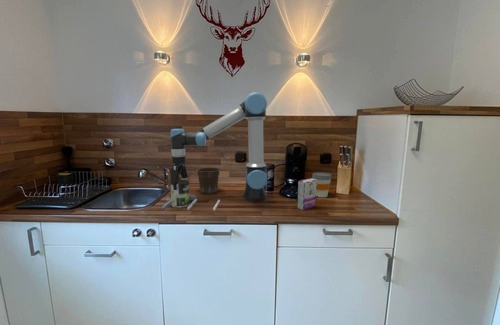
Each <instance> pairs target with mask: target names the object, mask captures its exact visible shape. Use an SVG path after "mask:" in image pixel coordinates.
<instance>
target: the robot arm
mask: <svg viewBox="0 0 500 325" xmlns="http://www.w3.org/2000/svg"><path fill="white" fill-rule="evenodd" d="M267 105H268V102H267V98H266V97H265V95H263V94H262V93H260V92H257V91H256V92H251V93H249V94H248V95H247V96H246V98H245V100H244V101H243V102H241V103H240V104H238V106H237V108H234V109H232V111H229V112H228V113H227V114H225V115H223V116H221V117H219V118H218V119H216V120H214V121H212V122H211V123H210V124H208V125H205V126H204V127H203V128H201V129H199V130H197V131H195V132H194V131H191V132H187V131H185V129H184V128H172V129H170V148H171V150H170V152H171V163H172V164H174V165H173V166H172V173H171V179H170V180H171V181H170V182H171V183H170V185H171V184H173V194H174V195H177V196H178V195H179V189H178V184H177V183H178V180H187V179H188V177H189V176H188V172H187V168H186V147H187V146H194V147H196V146H199V147H201V146H206V144H207V141H208V140H210V139H212V138H213V137H214V136H217V135H219V134H220V133H221V132H224V131H225V130H228V128H230V127H232V126H234V125H236V124H237V123H239V122H240V121H243V120H244V119H246V121H247V131H248V132H247V133H248V135H247V136H248V137H247V138H248V140H247V141H248V162H247V163H246V164H245V187H244V190H243V194H242V199H244V200H246V201H250V202H258V201H264V200H266V198H267V194H266V190H265V186H266V185H267V182H268V175H267V164H266V163H265V161H264V160H265V159H264V120H265V119H266V118H267V114H266V113H267ZM180 176H181V179H179V178H180Z"/></svg>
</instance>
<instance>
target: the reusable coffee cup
mask: <svg viewBox="0 0 500 325" xmlns="http://www.w3.org/2000/svg"><path fill="white" fill-rule="evenodd" d="M311 177H312V179H316V180H317V192H316V197H317V196H318V198H327V197H328V195H329V190H330V189H331V183H332V182H331V180H332V173H329V172H323V171H322V172H321V171H315V172H313V173H312V176H311Z"/></svg>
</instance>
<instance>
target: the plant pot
mask: <svg viewBox="0 0 500 325" xmlns="http://www.w3.org/2000/svg"><path fill="white" fill-rule="evenodd" d="M196 171H197V172H196V173H197V176H198V184H199V192H200V193H201V194H207V195H208V194H209V195H210V194H215V193H217V192H218V189H219V187H218V186H219V176H220V171H221V169H220V168H219V167H199V168H197V169H196Z"/></svg>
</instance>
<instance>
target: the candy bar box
mask: <svg viewBox="0 0 500 325" xmlns="http://www.w3.org/2000/svg"><path fill="white" fill-rule="evenodd" d="M297 185H298V186H297V209H299V210H302V211H306V210H309V209H312V208H315V207H316V206H317V196H316V192H317V180H316V179H313V178H307V179H301V180H299V181H298V182H297Z"/></svg>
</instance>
